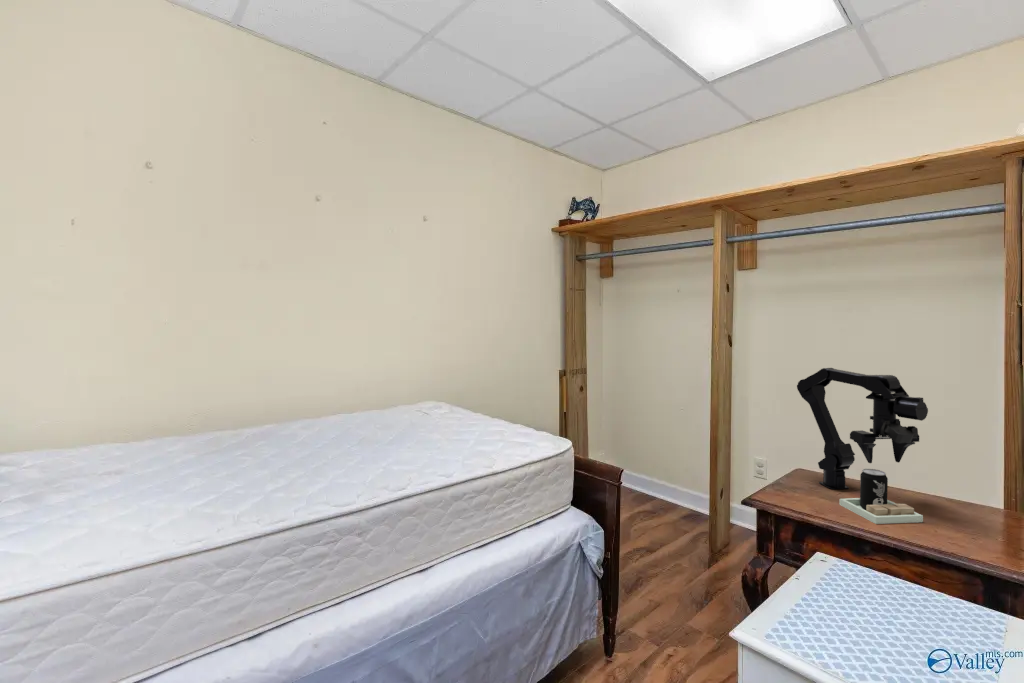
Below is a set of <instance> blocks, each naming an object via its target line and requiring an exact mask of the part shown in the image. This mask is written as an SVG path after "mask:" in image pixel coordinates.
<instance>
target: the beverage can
mask: <svg viewBox="0 0 1024 683" xmlns="http://www.w3.org/2000/svg"><path fill="white" fill-rule="evenodd" d="M859 475H860V482H859V484H860V487H859V488H860V489H859V492H860V493H859V496H860V497H859V498H860V506H861V507H862V508H863V509H864V510H866V505H883V504H887V500H888V488H889V487H888V483H889V482H888V480H889V479H888V477H887V473H886V472H885V471H883V470H880V469H875V468H862V470H861V473H860V474H859Z"/></svg>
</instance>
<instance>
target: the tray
mask: <svg viewBox="0 0 1024 683" xmlns="http://www.w3.org/2000/svg"><path fill="white" fill-rule="evenodd" d="M887 504H891V505H893V504H897V503H896V502H894V501H891V500H889V499H887ZM839 506H841V507H842V508H845V509H846V510H849V511H850V512H852V513H854V514H856V515H858V516H860V517H861V518H864V519H865V520H867V521H869V522H871V523H873V524H875V525H881V524H883V525H887V524H889V525H890V524H913V523H915V524H917V523H918V524H919V523H924V515H923V514H920V513H918V512H916V511H914V514H913V515H885V516H876V515H874V514H872V513H870V512H868V511H866V510H864V509H863V508H862V507H861V506H860V497H854V498H853V497H850V498H839Z"/></svg>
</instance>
